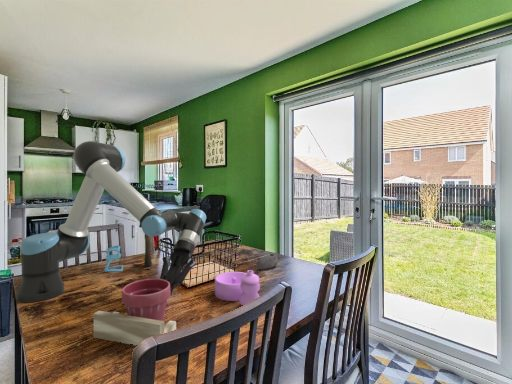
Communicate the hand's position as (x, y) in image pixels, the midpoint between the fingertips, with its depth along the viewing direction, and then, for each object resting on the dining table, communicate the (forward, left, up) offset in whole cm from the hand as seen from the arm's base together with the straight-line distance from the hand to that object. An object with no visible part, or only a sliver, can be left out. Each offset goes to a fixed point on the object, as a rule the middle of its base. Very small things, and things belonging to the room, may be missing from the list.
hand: (161, 303), depth 94 cm
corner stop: (-2, -13, -4) cm, 13 cm away
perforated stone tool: (+33, +56, -4) cm, 65 cm away
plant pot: (-1, -7, -4) cm, 8 cm away
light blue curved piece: (-44, +43, -4) cm, 62 cm away
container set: (+24, +18, -4) cm, 30 cm away
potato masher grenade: (-30, +51, -4) cm, 59 cm away
